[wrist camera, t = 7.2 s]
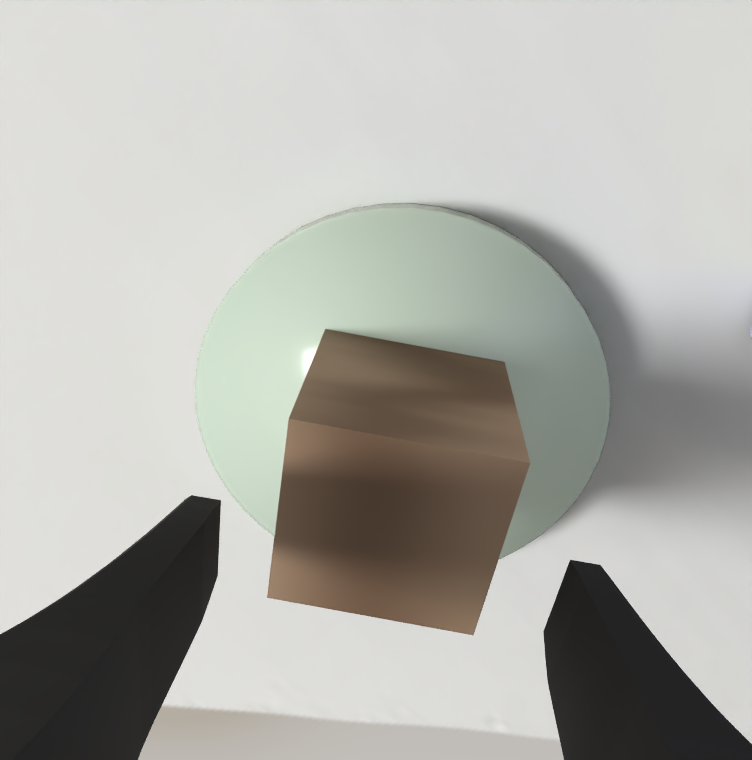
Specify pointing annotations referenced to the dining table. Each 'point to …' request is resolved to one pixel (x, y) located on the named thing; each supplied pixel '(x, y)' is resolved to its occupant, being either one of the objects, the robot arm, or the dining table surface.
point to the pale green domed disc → (410, 326)
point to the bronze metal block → (397, 482)
